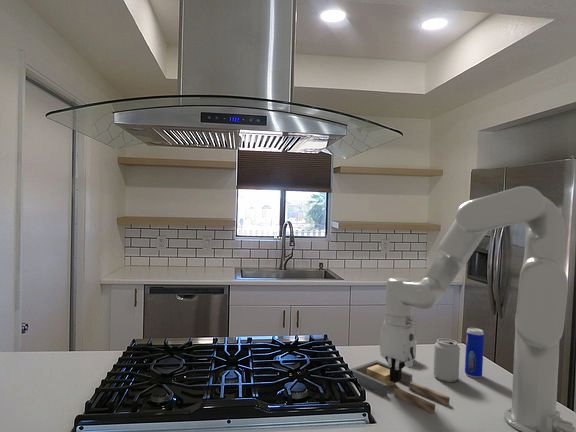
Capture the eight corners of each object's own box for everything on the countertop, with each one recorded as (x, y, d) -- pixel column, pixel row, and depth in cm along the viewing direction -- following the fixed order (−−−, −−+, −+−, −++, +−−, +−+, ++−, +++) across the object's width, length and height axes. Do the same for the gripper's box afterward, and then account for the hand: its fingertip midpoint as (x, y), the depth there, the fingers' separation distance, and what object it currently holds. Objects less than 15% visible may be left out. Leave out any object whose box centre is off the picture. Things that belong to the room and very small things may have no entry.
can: (460, 384, 123) (462, 345, 123) (435, 381, 124) (436, 343, 124) (455, 374, 130) (457, 338, 130) (431, 372, 132) (433, 336, 132)
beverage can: (461, 372, 132) (463, 327, 132) (473, 371, 134) (475, 326, 134) (472, 379, 127) (474, 332, 127) (485, 377, 129) (487, 331, 129)
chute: (449, 404, 110) (449, 397, 110) (432, 413, 104) (432, 405, 104) (411, 388, 119) (411, 381, 119) (394, 395, 114) (394, 388, 114)
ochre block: (395, 384, 122) (395, 371, 122) (384, 389, 118) (385, 376, 118) (376, 376, 127) (377, 364, 127) (366, 381, 124) (366, 368, 124)
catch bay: (412, 384, 122) (412, 374, 122) (384, 395, 113) (385, 385, 113) (376, 369, 132) (376, 360, 132) (348, 378, 124) (349, 369, 124)
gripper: (427, 324, 115) (424, 387, 115) (385, 312, 126) (382, 369, 127) (412, 328, 110) (409, 394, 110) (369, 315, 122) (367, 375, 122)
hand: (395, 381), depth 119 cm, fingers closed
